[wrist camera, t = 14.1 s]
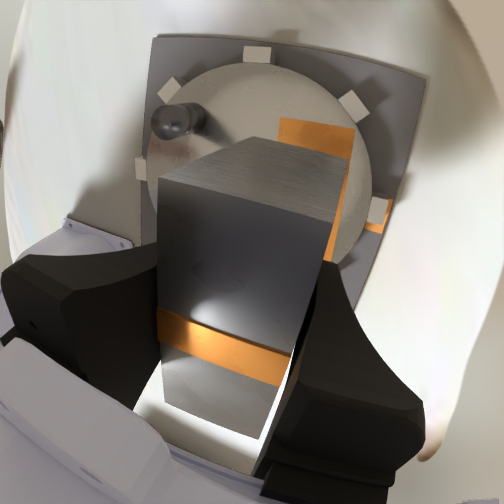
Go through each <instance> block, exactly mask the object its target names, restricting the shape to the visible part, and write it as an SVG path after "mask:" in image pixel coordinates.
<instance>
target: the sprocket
mask: <svg viewBox="0 0 504 504" xmlns="http://www.w3.org/2000/svg"><path fill="white" fill-rule="evenodd" d="M276 51H277V50H276V49H274V48H272V47H256V46H244V52H243V62H244V63H237V64H231V65H226V66H222V67H219V68H216V69H213V70H210V71H208V72H206V73H203V74H201V75H200V76H198V77H196V78H194V79H193V80H191V81H190V82H188V83H187V82H186V81H185V80H184V78H183V77H172V78H171V79H170V80H169V81H168V82H167V83H166V84H165V85H164V86H163V87H162V89H161V90H160V91H159V92H158V93H157V94H158V95H159V96H160V97H161V99H162V100H163V101H164V102H165V103H166V105H163V106H160V107H158V108H157V109H156V110H155V111H154V113H153V115H152V118H151V127H152V133H151V137H150V140H149V144H148V151H147V155H142V156H139V157H137V158H135V175H136V179H137V180H144V181H147V184H148V189H149V193H150V198H151V201H152V204H153V207H154V210H155V212H156V214H157V193H158V177H159V176H162V175H164V174H166V173H168V172H170V171H172V170H174V169H177V168H179V167H181V166H183V165H185V164H187V163H190V162H192V161H194V160H196V159H199V158H201V157H203V156H206V155H208V154H210V153H213V152H215V151H217V150H220V149H222V148H224V147H227V146H229V145H232V144H234V143H237V142H239V141H242V140H244V139H247V138H249V137H252V136H255V137H260V138H265V139H269V140H274V141H278V142H283V143H287V144H291V145H296V146H300V147H304V148H308V149H312V150H316V151H319V152H323V153H327V154H331V155H334V156H338V157H342V158H345V159H349V160H348V165H347V169H346V174H345V178H344V182H343V187H342V191H341V195H340V199H339V204H338V208H337V212H336V216H335V220H334V224H333V227H332V231H331V234H330V238H329V241H328V244H327V248H326V251H325V254H324V258H323V260H326V261H330V262H333V263H336V264H338V263H339V262H340V261H341V260H342V259H343V258H344V257H345V256H346V255H347V253H348V252H349V251H350V250H351V248H352V247H353V245H354V244H355V242H356V241H357V239H358V238H359V236H360V234H361V231H362V229H363V227H364V225H365V222H366V219H367V222H370V223H374V224H378V225H382V226H383V222H384V218H385V214H386V210H387V206H388V201H389V199H388V195H387V194H384V193H380V192H375V191H372V175H371V167H370V161H369V155H368V152H367V148H366V145H365V142H364V139H363V137H362V135H361V133H360V130H359V128H358V126H357V124H356V123H357V122H358V121H360V120H361V119H363V118H364V117H366V116H367V115H368V114H370V113H369V111H368V110H367V109H366V107H365V106H364V105H363V103H362V102H361V101H360V99H359V98H358V97H357V95H356V94H355V93H354V92H353V90H351V91H349V92H348V93H347V94H345V95H344V96H342V97H341V98H339V99H337V98H336V97H335V96H333V95H332V94H331V93H330V92H329V91H328V90H326V89H325V88H324V87H323V86H321V85H320V84H318V83H316V82H315V81H313V80H312V79H310V78H308V77H306V76H304V75H302V74H299V73H297V72H295V71H292V70H290V69H286V68H283V67H279V66H275V63H276Z"/></svg>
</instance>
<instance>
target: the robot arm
mask: <svg viewBox="0 0 504 504" xmlns="http://www.w3.org/2000/svg"><path fill="white" fill-rule="evenodd" d="M123 244H124V245H123ZM157 307H158V296H157V242H154V243H150V244H147V245H143V246H139V247H135V248H133V245H132V243H131V242H130V241H129V240H126V239H123V238H121V237H118V236H115V235H112V234H110V233H107V232H104V231H101V230H98V229H96V228H93V227H90V226H88V225H85V224H82V223H79V222H77V221H74V220H71V219H69V218H64V219H62V228H61V229H59V230H57V231H56V232H54V233H52V234H51V235H49V236H47V237H46V238H44V239H42V240H41V241H39V242H38V243H36V244H34V245H33V246H31V247H30V248H28V249H26V250H25V251H24V252H23V253H21V255H20V256H19V257H18V258H17V260H16V261H15V263H14V264H12V265H11V266H9V267H8V268H7V269H5V270H4V271H3V272H2V273H1V274H0V504H386V502H387V495H388V489H389V487H391V486H393V484H394V482H395V473H396V470H398V469H399V468H400V467H401V466H403V465H404V464H405V463H407V462H408V461H409V460H410V459H411V458H413V457H414V456H415V455H416V454H417V453H418V452H419V451H420V450H421V449H422V448H423V445H424V442H425V415H424V408H423V401H422V400H421V399H420V398H419V397H418V396H417V395H416V394H415V393H414V392H413V391H411V390H410V389H409V388H408V387H407V386H406V385H405V384H404V383H403V382H402V381H401V380H400V379H399V378H398V377H397V376H396V374H395V373H394V372H393V371H392V370H391V369H390V368H389V367H388V365H387V364H386V363H385V362H384V360H383V359H382V358H381V357H380V355H379V354H378V352H377V351H376V350H375V348H374V347H373V345H372V344H371V342H370V341H369V339H368V338H367V336H366V334H365V333H364V331H363V329H362V328H361V326H360V324H359V322H358V320H357V318H356V315H355V313H354V311H353V309H352V306H351V304H350V301H349V298H348V296H347V293H346V290H345V287H344V284H343V280H342V277H341V272H340V267H339V266H338V264H336V263H333V262H330V261H326V260H323V261H322V264H321V267H320V271H319V274H318V277H317V280H316V283H315V286H314V290H313V293H312V296H311V299H310V302H309V305H308V308H307V311H306V314H305V317H304V320H303V323H302V326H301V329H300V331H299V334H298V337H297V340H296V343H295V348H294V352H293V357H292V361H291V366H290V370H289V374H288V378H287V382H286V385H285V388H284V391H283V394H282V397H281V400H280V402H279V405H278V408H277V410H276V413H275V416H274V418H273V421H272V424H271V426H270V429H269V432H268V434H267V437H266V439H265V442H264V444H263V447H262V449H261V452H260V454H259V457H258V459H257V461H256V464H255V466H254V469H253V471H252V473H251V476H249V475H246V474H243V473H240V472H237V471H234V470H231V469H229V468H226V467H223V466H221V465H218V464H216V463H213V462H211V461H208V460H206V459H203V458H201V457H198V456H196V455H194V454H191V453H189V452H187V451H184V450H182V449H180V448H178V447H176V446H173V445H171V444H169V443H167V442H165V441H164V440H163V438H162V437H161V435H160V434H159V433H158V432H157V431H156V430H155V429H154V428H152V427H151V426H150V425H149V424H148V423H147V422H146V421H145V420H144V419H143V418H142V417H140V416H139V415H137V414H136V413H134V412H133V409H134V407H135V405H136V403H137V401H138V399H139V397H140V395H141V393H142V391H143V390H144V388H145V386H146V384H147V382H148V380H149V379H150V377H151V375H152V373H153V372H154V370H155V368H156V366H157V365H158V363H159V361H160V360H161V353H160V341H158V333H157V316H156V308H157ZM458 504H499V499H497V498H493V499H492V498H491V499H472V500H467V501H463V502H461V503H458Z"/></svg>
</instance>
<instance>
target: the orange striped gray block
mask: <svg viewBox="0 0 504 504" xmlns="http://www.w3.org/2000/svg"><path fill="white" fill-rule="evenodd" d="M348 160H349V159H345V158H342V157H338V156H334V155H331V154H327V153H323V152H319V151H316V150H312V149H308V148H304V147H300V146H296V145H291V144H287V143H283V142H278V141H274V140H269V139H265V138H260V137H255V136H252V137H249V138H247V139H244V140H242V141H239V142H237V143H234V144H232V145H229V146H227V147H224V148H222V149H220V150H217V151H215V152H213V153H210V154H208V155H206V156H203V157H201V158H199V159H196V160H194V161H192V162H190V163H187V164H185V165H183V166H181V167H179V168H177V169H174V170H172V171H170V172H168V173H166V174H164V175H162V176H159V177H158V193H157V296H158V307H157V308H156V316H157V333H158V341H160V353H161V366H162V377H163V388H164V398H165V402H166V403H168V404H170V405H172V406H174V407H177V408H179V409H181V410H183V411H186V412H188V413H190V414H192V415H195V416H197V417H199V418H202V419H204V420H207V421H209V422H212V423H214V424H217V425H219V426H222V427H224V428H227V429H230V430H232V431H235V432H238V433H240V434H243V435H246V436H249V437H252V438H255V439H259V437H260V434H261V432H262V430H263V427H264V425H265V422H266V420H267V417H268V415H269V412H270V410H271V407H272V405H273V402H274V400H275V397H276V394H277V392H278V389H279V387H280V385H281V382H282V380H283V377H284V375H285V372H286V369H287V366H288V364H289V361H290V358H291V354H292V351H293V349H294V346H295V343H296V340H297V337H298V334H299V331H300V329H301V326H302V323H303V320H304V317H305V314H306V311H307V308H308V305H309V302H310V299H311V296H312V293H313V290H314V286H315V283H316V280H317V277H318V274H319V271H320V267H321V264H322V261H323V258H324V254H325V251H326V248H327V244H328V241H329V238H330V234H331V231H332V227H333V224H334V220H335V216H336V212H337V208H338V204H339V199H340V195H341V191H342V187H343V182H344V178H345V174H346V169H347V165H348Z"/></svg>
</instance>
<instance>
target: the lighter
mask: <svg viewBox="0 0 504 504" xmlns="http://www.w3.org/2000/svg"><path fill="white" fill-rule="evenodd" d="M3 134H4V127H3V124H2V121H1V120H0V167H1V161H2V152H3Z"/></svg>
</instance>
